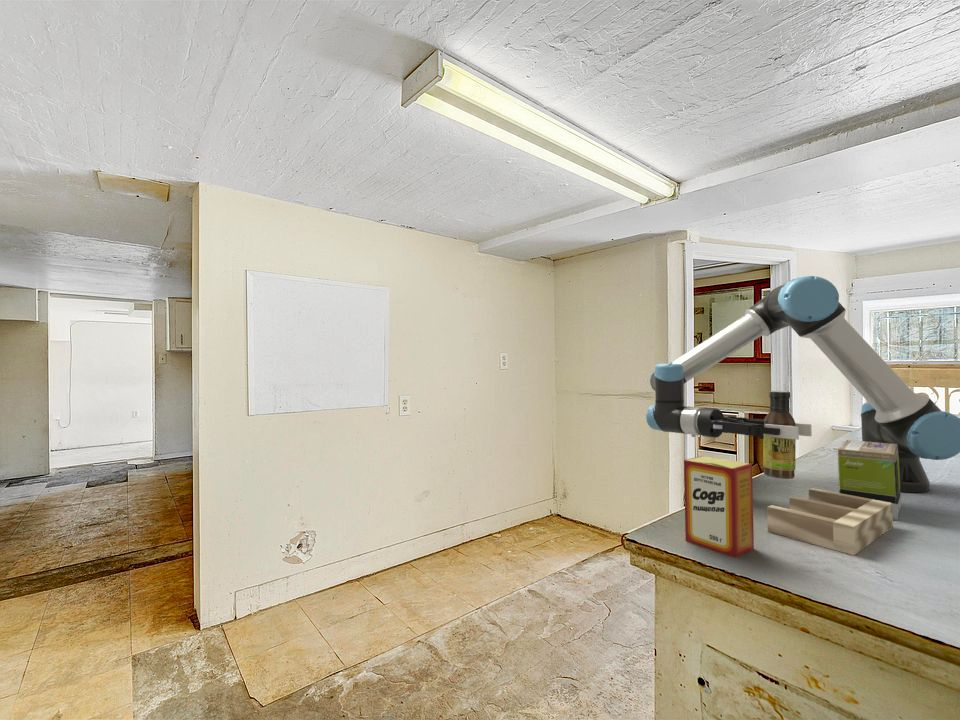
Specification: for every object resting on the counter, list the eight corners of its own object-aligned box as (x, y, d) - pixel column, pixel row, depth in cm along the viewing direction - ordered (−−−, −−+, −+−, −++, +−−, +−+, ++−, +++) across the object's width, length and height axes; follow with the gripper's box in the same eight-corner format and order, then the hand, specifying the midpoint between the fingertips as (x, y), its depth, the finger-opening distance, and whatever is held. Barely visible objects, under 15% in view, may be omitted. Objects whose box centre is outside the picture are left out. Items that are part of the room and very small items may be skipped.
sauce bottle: (773, 480, 101) (771, 392, 101) (758, 473, 107) (756, 390, 107) (803, 480, 100) (800, 391, 100) (786, 473, 106) (784, 389, 106)
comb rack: (812, 509, 104) (812, 488, 104) (892, 527, 92) (892, 502, 92) (767, 531, 91) (767, 506, 91) (854, 555, 79) (853, 526, 79)
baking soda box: (685, 540, 87) (683, 458, 87) (703, 533, 90) (702, 454, 91) (736, 557, 79) (734, 466, 79) (753, 548, 82) (752, 462, 83)
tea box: (847, 497, 113) (846, 438, 113) (901, 505, 106) (900, 443, 106) (838, 511, 102) (837, 447, 103) (898, 521, 95) (896, 452, 96)
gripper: (722, 432, 124) (821, 443, 105) (683, 439, 113) (786, 453, 94) (721, 405, 124) (821, 411, 105) (682, 410, 113) (785, 418, 94)
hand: (804, 431), depth 99 cm, fingers closed on sauce bottle, 6 cm apart
